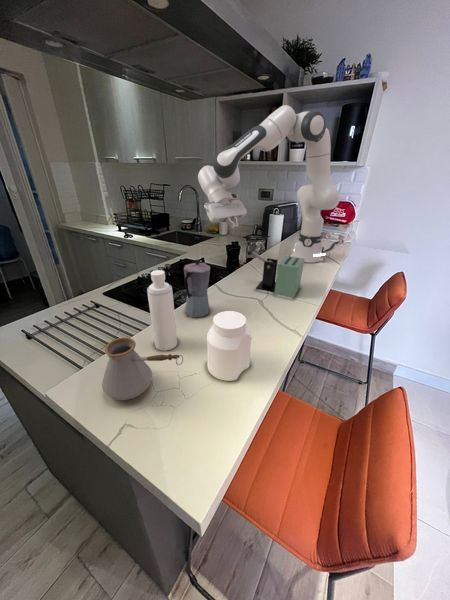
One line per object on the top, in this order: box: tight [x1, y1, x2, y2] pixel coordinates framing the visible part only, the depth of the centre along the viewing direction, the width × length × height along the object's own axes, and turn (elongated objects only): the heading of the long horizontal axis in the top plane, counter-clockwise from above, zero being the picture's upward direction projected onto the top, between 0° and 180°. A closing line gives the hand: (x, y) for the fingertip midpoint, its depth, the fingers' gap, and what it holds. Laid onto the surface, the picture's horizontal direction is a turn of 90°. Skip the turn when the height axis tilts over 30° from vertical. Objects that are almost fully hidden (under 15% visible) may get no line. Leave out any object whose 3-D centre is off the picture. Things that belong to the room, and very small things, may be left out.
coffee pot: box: [101, 337, 184, 401], centre depth 58 cm, size 21×12×15 cm, turn 69°
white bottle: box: [146, 269, 178, 351], centre depth 72 cm, size 7×7×25 cm
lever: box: [247, 248, 272, 263], centre depth 109 cm, size 12×5×2 cm, turn 65°
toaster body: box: [274, 255, 305, 299], centre depth 107 cm, size 8×12×14 cm, turn 154°
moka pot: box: [183, 259, 211, 318], centre depth 90 cm, size 10×15×20 cm, turn 164°
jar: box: [206, 310, 253, 382], centre depth 67 cm, size 12×10×15 cm
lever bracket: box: [255, 257, 279, 294], centre depth 110 cm, size 8×10×13 cm
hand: (235, 227), depth 111 cm, fingers closed
